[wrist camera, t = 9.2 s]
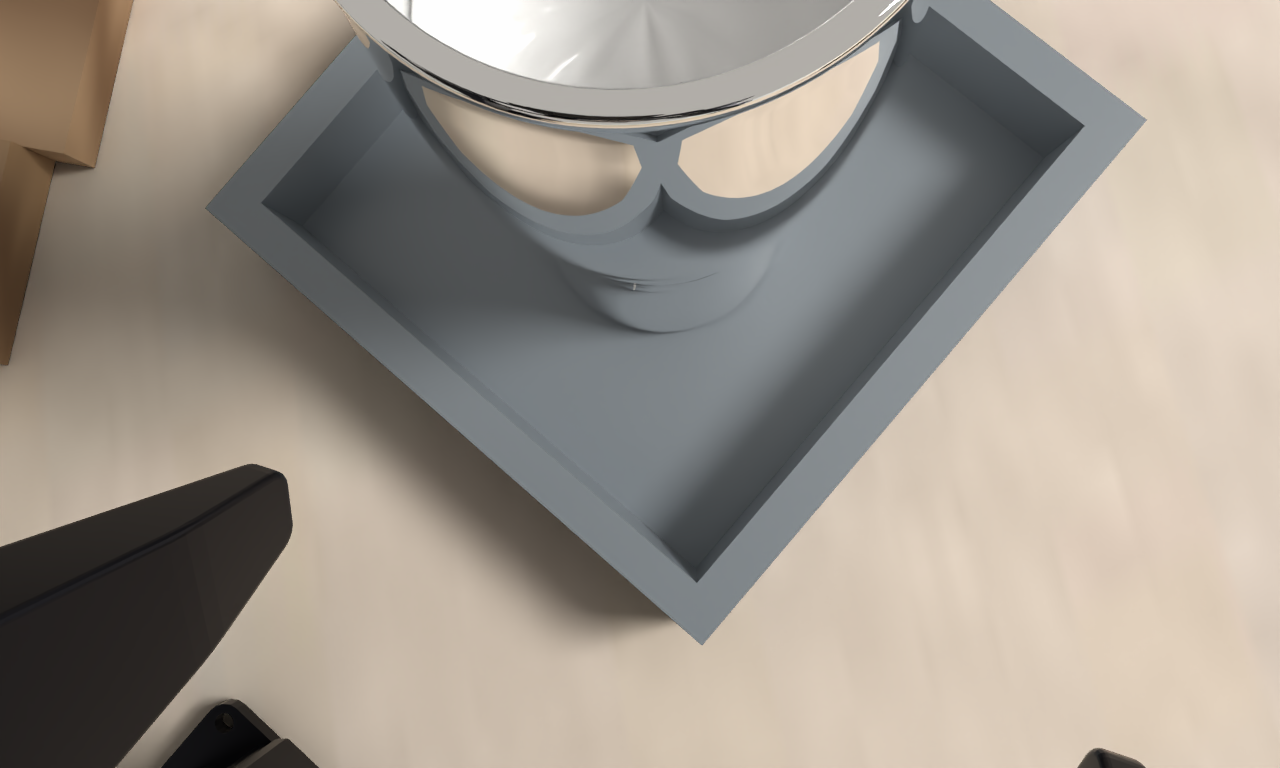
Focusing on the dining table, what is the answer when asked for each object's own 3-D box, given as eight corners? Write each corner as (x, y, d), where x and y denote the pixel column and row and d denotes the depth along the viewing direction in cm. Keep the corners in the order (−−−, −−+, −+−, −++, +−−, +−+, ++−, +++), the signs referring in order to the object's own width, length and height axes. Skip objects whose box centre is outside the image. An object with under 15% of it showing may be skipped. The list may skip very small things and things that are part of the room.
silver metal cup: (547, 83, 23) (279, -625, 8) (806, 101, 22) (1060, -612, 7) (521, 338, 22) (181, 118, 7) (785, 361, 22) (1010, 178, 7)
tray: (699, 618, 22) (701, 645, 19) (266, 238, 24) (205, 207, 21) (1085, 163, 22) (1146, 120, 19) (634, -186, 24) (627, -277, 21)
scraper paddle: (47, 372, 24) (0, 367, 22) (-84, 347, 24) (-139, 340, 22) (155, -97, 24) (118, -134, 23) (27, -115, 25) (-18, -154, 23)
